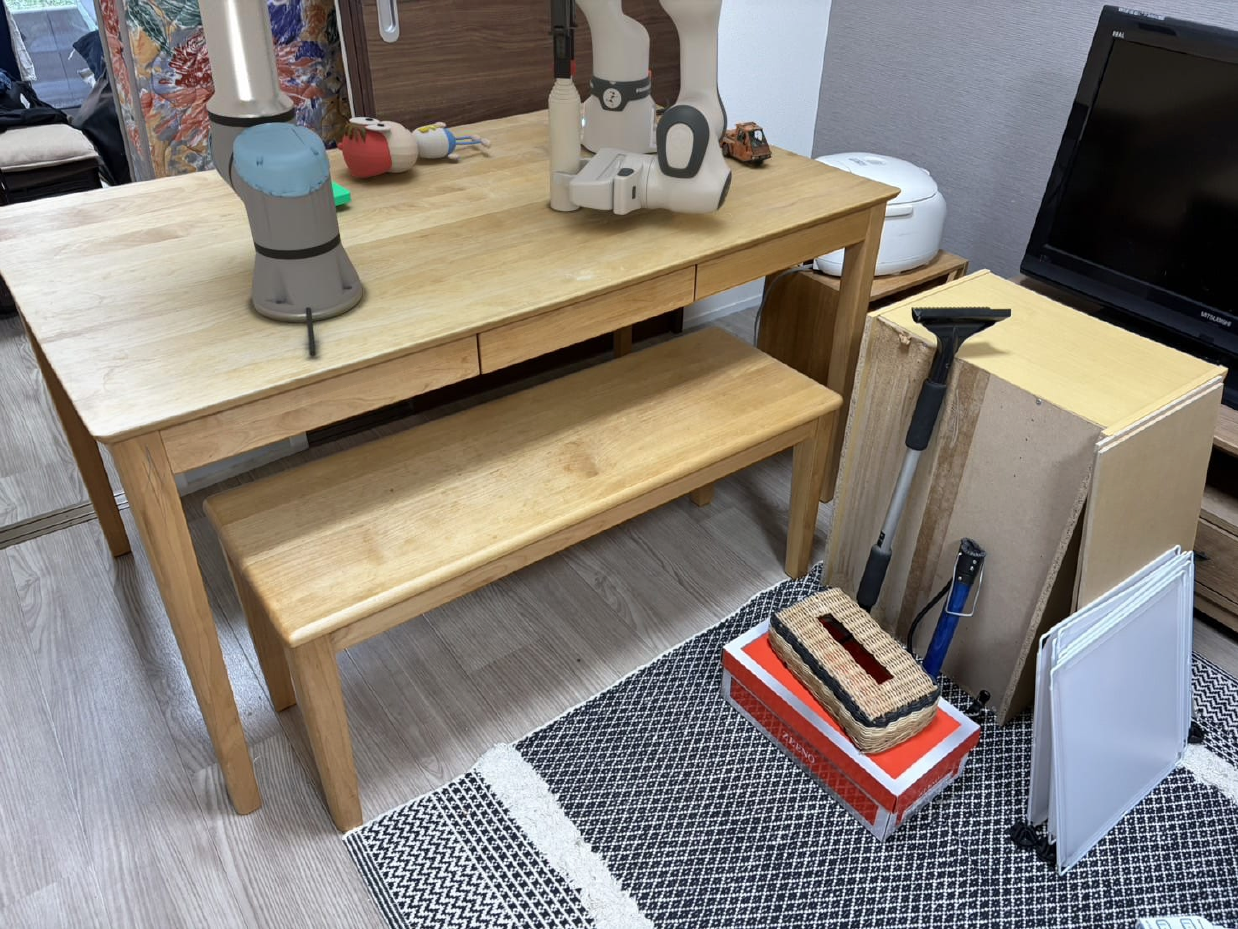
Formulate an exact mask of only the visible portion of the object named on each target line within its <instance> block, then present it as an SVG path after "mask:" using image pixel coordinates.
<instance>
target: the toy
mask: <svg viewBox="0 0 1238 929" xmlns="http://www.w3.org/2000/svg"><path fill="white" fill-rule="evenodd" d="M446 127H447V124H446V123H445V122H441V121H437V122H435V123H432V124H429V125H424V126H420V127H417V128H416V129H414V130H413V131H412V132H411V131H410V130H409V128H407V126H406V125H404V124H401V123H399V122H395V121H393V120H391V121H390V120H382V121H381V120H378V119H376V118H372V117H364V116H358V117H352V118H349V122H348V123H346V124H345V126H344V128H343V130H344V131H343V133H344V135H343V137H342V142H338V143H337V144H336V147H337V150H339V151H341V152H342V157H343V160H344V162H345V165H346V166H347V169H348V170H349V173H350V174H351V175H352V176H353V177H355V178H358V179H366V178H367V179H368V178H371V177H375V176H379V175H382V174H386V173H387V172H388V173H391V174H392V173H393V174H398V173H403V172H406V171H409V170H410V169H411V168H412V167H414V165H415V164H416V162H417V160H418V157H420V158H425V159H441V158H444V157H447V158H448V159H449V160H458V159H459V158H460V155H459V154H458V153H454V151H455V150H456V147H457V146H466V145H468V146H469V145H477V144H481V146H483V148H486V149H490V148H491V147H492V142H491V140H489V139H486V138H481V136H479V135H478V134H476V133H474V134H470V136H458V137H456V136H454V133H452V132H451V131H450V130H449V129H447V128H446ZM463 140H471V141H463Z"/></svg>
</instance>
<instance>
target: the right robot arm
mask: <svg viewBox="0 0 1238 929" xmlns="http://www.w3.org/2000/svg"><path fill="white" fill-rule="evenodd" d="M658 1H659V4H660V6H661V7H662V9H663V10H664V11H665V13H667V15H668V16H669V17H670V19H671V20H672V21H673V24H674V25H675V27H676V30H677V33H678V37H679V53H680V54H679V55H680V56H679V59H680V60H679V62H680V66H679V68H680V88H679V89H680V90H679V93H678V97H677V100H676V101H675V103H674V104H673V105H672V106H671V102H670V99H668V98H666V99H665V101H664V102H665V107H664V108H660V109H657V104H656V101H654V98H653V97H652V96H651V93H652V89H651V87H652V82H651V80H652V71H651V70H649V66H650V63H649V62H650V42H651V41H650V40H651V39H650V34H649V33H648V31H647V28H646V27H645V26H644V25H643V24H642V23H640V22H639V21H637V20H636V19H634V18H632V17H631V16H628V15H626V14H624V12H623V8H622V0H575V4H577V6H578V7H579V8H580V9H581V11H582V13H583V14H584V16H585V18H586V20H587V23H588V27H589V29H590V35H591V43H592V61H593V62H592V73H591V74H590V80H589V86H590V93H591V94H590V96H589V97H587V99H586V100H585V101H584V102H583V111H582V112H583V114H582V119H581V125H582V127H581V129H582V130H581V146H584V147H585V149H586V150H588V151H590V152H592V153H595V155H594V156H593V157H583V158H582V157H581V171H580V172H579V173H578V174H577V175H574V174H573V175H568V174H565V172H562V171H561V172H560V171H556V172H555V173H554V174H553V182H554V183H555V184H561V185H564V186H565V187H567V188H569V201H570V202H571V203H573V204H575V205H578V206H580V207H583V208H587V209H592V210H593V209H594V210H599V211H610V210H613V211H612V212H613V214H615V215H621V216H625V215H626V214H629V213H630V212H633V211H636V210H640V209H642V208H643V209H651V210H654V209H666V210H669V211H670V212H674V213H679V214H680V213H681V214H689V215H691V214H693V215H709V214H711V215H712V214H714V213H716V212H718V211H719V210H720V209H721V207H723V205H724V203H725V202H726V198H727V196H728V194H729V191H730V188H731V183H732V178H733V172H732V170H731V168H730V167H729V166H728V163H727V162H726V159H725V157H724V155H723V152H722V149H721V148H720V146H719V144H720V143H721V141H722V140H723V138H724V136H725V133H726V130H728V115H727V111H726V107H725V104H724V102H723V100H722V97H721V93H720V90H719V82H718V79H719V78H718V72H719V68H718V67H719V62H718V61H719V59H718V58H719V57H718V56H719V26H720V19H721V18H720V17H721V12H722V6H723V0H658ZM658 114H662V115H661V116H660V118H659V120H658V121H657V115H658ZM649 153H656V154H655V155H653V154H649Z"/></svg>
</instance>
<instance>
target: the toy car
mask: <svg viewBox="0 0 1238 929" xmlns="http://www.w3.org/2000/svg"><path fill="white" fill-rule="evenodd" d="M734 126H736V127H735V128H733V129H727V130H726V133H725V136H724V138H723V140H722V141H721V143H720V144H719V146H720V149H721V152H722V155H723V157H724V156H726V157H731V158H734V159H736V160H739V161H741V162H743V163H746V164H748V163H753V162H754V164H755V165H756V166H758V167H762V165H763V163H764V161H767V160H769V159H771V158H773V157H772V154H773V152H772V151H771V148H770V145H769V143H768V141H767V138H766V135H765V133H764V128H763V127H761V126H759V125H758V124H757V123H756V122H755V121H745V122H739V123H735V124H734ZM756 132H760V133H761V139H759V133H756ZM756 135H757V137H756Z"/></svg>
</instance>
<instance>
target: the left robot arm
mask: <svg viewBox="0 0 1238 929" xmlns="http://www.w3.org/2000/svg"><path fill="white" fill-rule="evenodd" d="M197 2H198V9H199V14H200V18H201V24H202V29H203V35H204V39H205V45H206V50H207V55H208V60H209V66H210V70H211V71H210V72H211V77H212V81H213V86H214V92H213V94H212V96H211V97H210V98H209V99H208V101H207V102H206V104H205V105H206V106H205V107H206V112H207V117H208V122H209V131H208V137H207V139H208V140H207V143H208V152H209V156H210V159H211V162H212V165H213V167H214V168H215V171H216V173H218V175H219V176H220V177H221V178H222V179H223V181H224V182H225V183H226V185H228V186H229V187H230V188H231V190H232V191H234V193H235V194H236V196H238V198H239V199H240V200H241V201H242V202H243V206H244V208H245V211H246V215H247V219H248V220H247V221H248V224H249V228H250V233H251V237H252V242H253V247H254V251H255V258H254V264H253V273H252V283H251V299H252V303H253V307H254V309H255V310H256V311H257V313H259V314H260V315H262V316H264V317H266V318H268V319H271V320H275V321H281V322H289V323H304V322H306V325H307V334H308V336H307V337H308V346H309V348H308V349H309V355H310V356H311V357H315V356H316V354H317V353H316V342H315V332H314V323H313V322H314V321H315V322H316V321H320V320H326V319H330V318H332V317H336V316H338V315H341V314H343V313H345V312H348V311H349V310H351V309H353V308H354V307H355V306H356V305H357V304H358V303H359V302H360V301H361V298H362V297H363V287H362V282H361V279H360V276H359V274H358V272H357V270H356V268H355V266H354V264H353V263H352V261H351V259H350V257H349V255H348V253H347V251H346V250H345V248H344V245H343V243H342V239H341V233H340V225H339V220H338V214H337V207H336V206H335V200H334V194H333V188H332V182H331V181H332V177H331V162H330V158H329V156H328V153H327V150H326V146H325V144H324V143H325V142H324V141H323V139H322V138H321V137H320V135H318V133H317V132H315V131H313V130H311V129H310V128H308V127H305V126H302V125H298V123H297V116H296V110H295V103H294V101H293V99H292V98H291V97H289V96H288V95H287V94H286V93H284V92H283V91H282V89H281V84H280V78H279V71H278V65H277V58H276V51H275V45H274V38H273V32H272V25H271V24H272V23H271V19H270V18H271V17H270V13H269V12H270V10H269V5H268V0H197ZM576 20H577V15H576V2H575V0H550V30H548V31H547V33H548V36H551V37H552V39H553V40H552V41H553V42H552V44H553V45H552V46H553V52H552V53H553V61H554V74H553V79H556V78H561V79H571V60H574V61H575V28H576V29H578V28H579V27H580V26H579V24H580V23H579V21H576Z"/></svg>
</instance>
